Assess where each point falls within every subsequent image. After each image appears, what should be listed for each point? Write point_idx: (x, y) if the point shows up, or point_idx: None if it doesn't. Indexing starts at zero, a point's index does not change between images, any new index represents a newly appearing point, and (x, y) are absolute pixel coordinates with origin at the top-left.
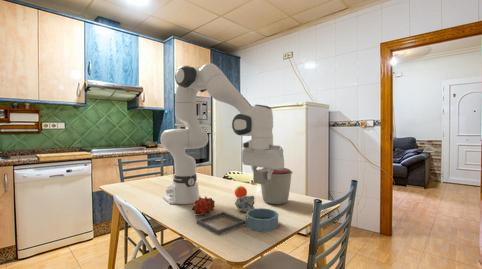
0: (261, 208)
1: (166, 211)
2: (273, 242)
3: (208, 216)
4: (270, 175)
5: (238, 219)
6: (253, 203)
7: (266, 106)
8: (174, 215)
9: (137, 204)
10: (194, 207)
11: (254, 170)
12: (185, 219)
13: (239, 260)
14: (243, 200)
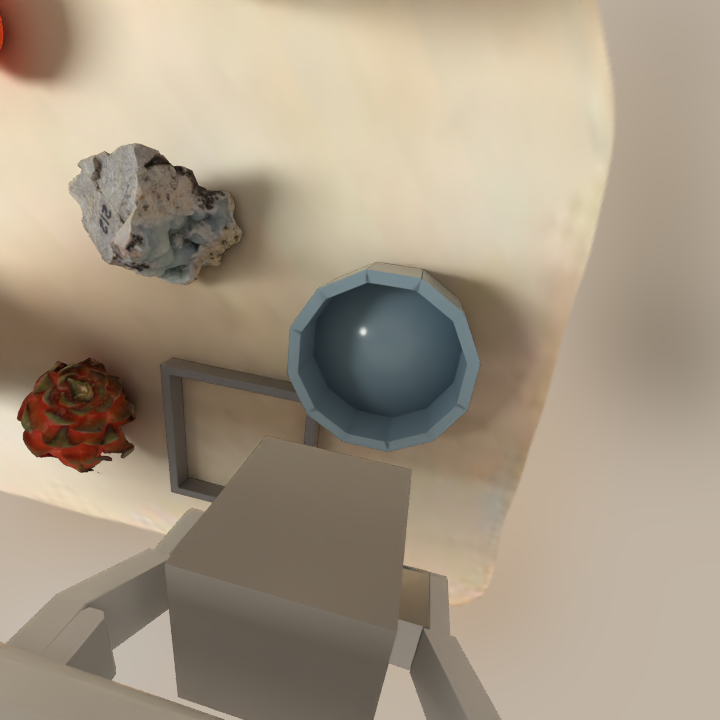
0: (323, 291)
1: (11, 454)
2: (519, 470)
3: (170, 445)
4: (445, 630)
5: (279, 395)
6: (194, 185)
7: None
8: (65, 466)
9: None
10: (85, 469)
11: (185, 691)
12: (122, 473)
13: (471, 599)
14: (152, 258)
